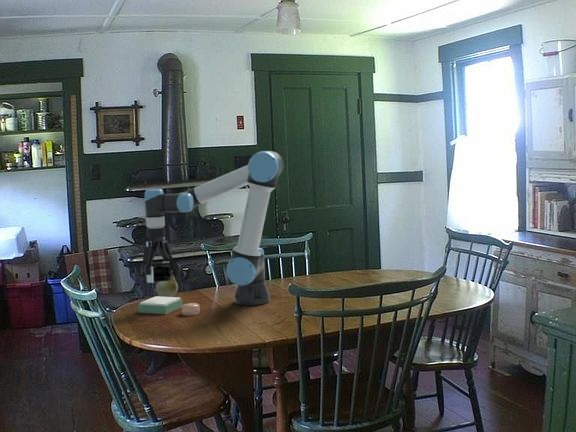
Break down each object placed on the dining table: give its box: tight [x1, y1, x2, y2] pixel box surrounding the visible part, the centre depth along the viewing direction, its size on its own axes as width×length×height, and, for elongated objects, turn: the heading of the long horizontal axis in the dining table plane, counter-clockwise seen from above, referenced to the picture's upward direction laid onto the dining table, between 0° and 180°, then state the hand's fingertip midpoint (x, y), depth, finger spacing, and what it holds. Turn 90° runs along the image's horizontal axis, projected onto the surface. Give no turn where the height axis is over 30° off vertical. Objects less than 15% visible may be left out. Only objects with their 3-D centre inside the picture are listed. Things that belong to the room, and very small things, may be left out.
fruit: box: [155, 269, 179, 297], centre depth 309 cm, size 10×9×12 cm
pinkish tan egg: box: [181, 302, 201, 317], centre depth 278 cm, size 7×7×4 cm
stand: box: [137, 295, 184, 315], centre depth 287 cm, size 13×13×4 cm
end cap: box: [144, 262, 172, 283], centre depth 285 cm, size 10×7×7 cm
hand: (158, 279), depth 286 cm, fingers closed on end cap, 11 cm apart
